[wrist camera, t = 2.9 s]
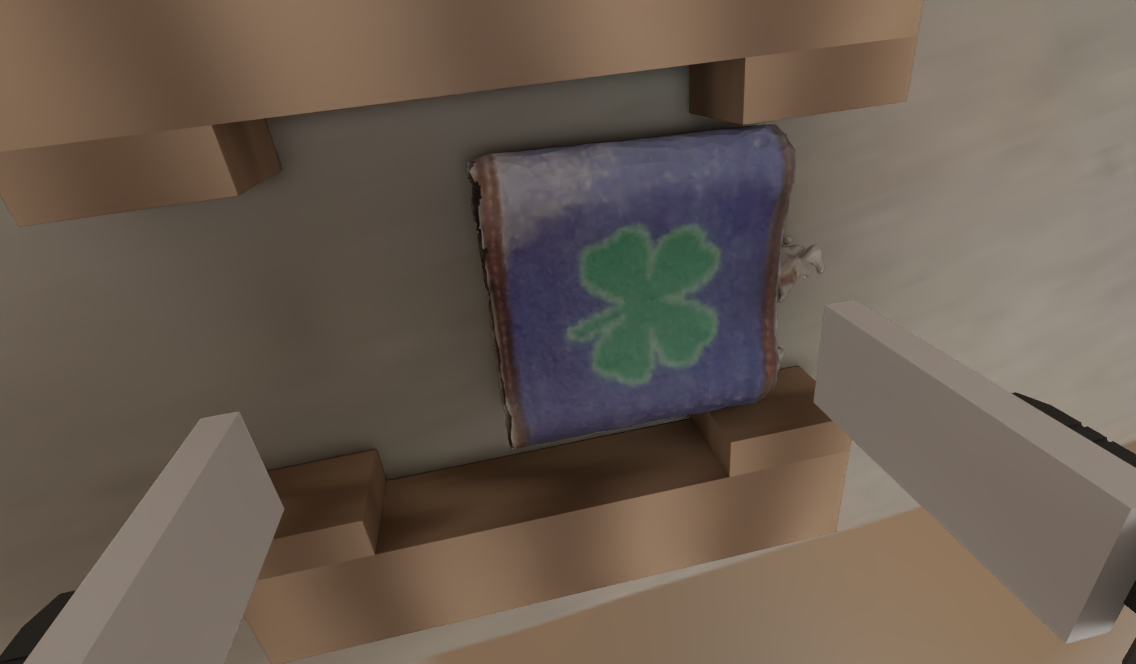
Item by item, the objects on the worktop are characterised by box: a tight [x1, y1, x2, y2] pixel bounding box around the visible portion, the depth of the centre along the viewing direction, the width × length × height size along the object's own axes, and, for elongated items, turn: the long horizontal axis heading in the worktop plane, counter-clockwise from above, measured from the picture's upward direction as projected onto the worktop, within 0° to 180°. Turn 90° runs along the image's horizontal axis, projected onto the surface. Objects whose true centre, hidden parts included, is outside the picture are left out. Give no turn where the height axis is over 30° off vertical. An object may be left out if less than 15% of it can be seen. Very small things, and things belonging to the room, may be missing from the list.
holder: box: [0, 0, 923, 664], centre depth 17 cm, size 21×21×4 cm
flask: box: [466, 125, 825, 451], centre depth 17 cm, size 9×3×11 cm
